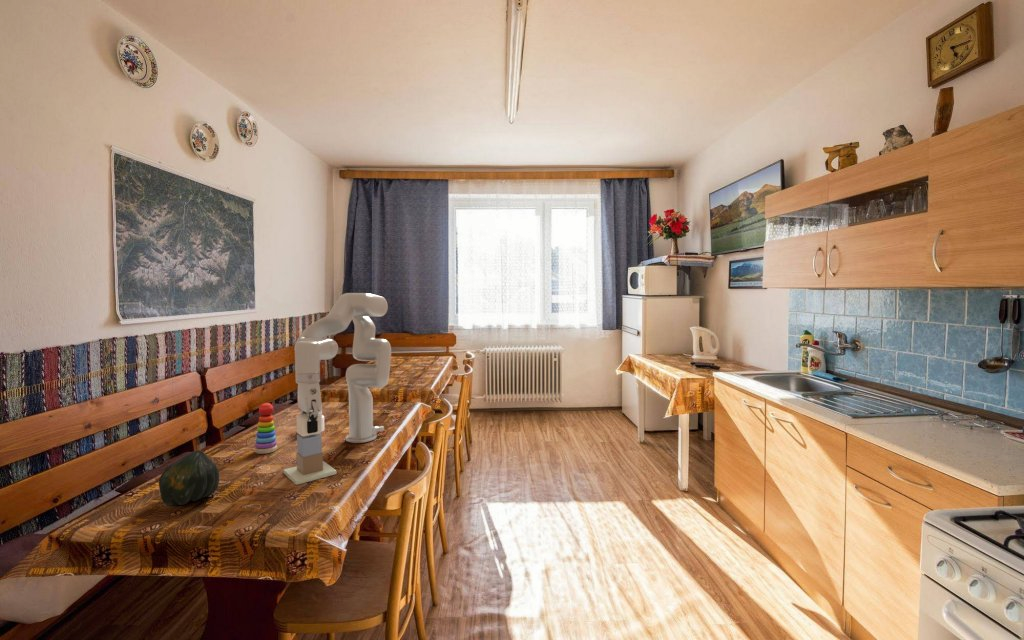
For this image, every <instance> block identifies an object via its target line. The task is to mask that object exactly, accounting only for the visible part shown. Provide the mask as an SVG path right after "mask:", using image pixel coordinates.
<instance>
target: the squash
mask: <svg viewBox="0 0 1024 640" xmlns="http://www.w3.org/2000/svg"><path fill="white" fill-rule="evenodd" d="M207 455H208V454H206V453H205V452H204V451H203V450H201V449H199V450H195V451H194V450H193V451H191V452H189V453H187V454H185V455H184V456H182V457H181V458H179V459H177V460H176V461H174V462H173V463H171V464H170V465H168V466H167V467H165V469H164V470H163V471H162V473H161V475H160V477H159V479H158V490H159V493H160V498H161V500H162V502H163V503H164V504H165V505H167V506H170V507H171V506H177V505H180V506H184V505H187V504H188V503H189V502H190V501H192V502H195V501H198V500H200V499H203V498H206V497H208V496H211V495H213V494H214V493H215V492H216V490H218V487H219V484H220V472H219V469H218V466H217V465H216V464H215V462H213V460H212V459H210V457H209V456H207Z"/></svg>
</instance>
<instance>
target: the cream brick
mask: <svg viewBox="0 0 1024 640" xmlns="http://www.w3.org/2000/svg"><path fill="white" fill-rule="evenodd" d="M311 415H312V414H310V417H311ZM307 421H308V416H307V413H306V414H296V433H297V435H301V436H302V437H304V436H309V435H314V434H322V432H321V415H319V414H318V432H315V433H309V434H308V433H307Z"/></svg>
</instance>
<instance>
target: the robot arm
mask: <svg viewBox="0 0 1024 640" xmlns="http://www.w3.org/2000/svg"><path fill="white" fill-rule="evenodd" d="M388 307H389V305H388V302H387V299H386V298H385V297H384V296H380V295H377V294H373V293H367V292H345V293H343V294H341V295H340V296H339V297H338V299H337V300H336V301H335V303H334V305H332V308H331V309H330V310H329V312H328V313H327V315H326V316H324V317H322V318H320V319H318V320H316V321H315V322H313V323H311V324H309V325H308V326H307V327H305V328H304V329H303V331H302V332H301V334H300V335H299V336H298V338H297V340H296V342H295V344H294V366H295V368H294V369H295V384H297V407H298V409H299V411H300V414H306V413H307V416H308V421H307V433H308V434H309V433H315V432H318V414H319V411H321V410H322V411H323V405H322V394H321V386H320V382H321V362H320V361H323V360H327V361H328V360H331V359H333V358H335V357H336V355H337V354H338V352H339V345H338V343H337V342H336V340H335V339H332V338H327V337H329V336H333V335H336V334H339V333H342V332H344V331H345V330H347V329H348V327H349V326H350V324H351V322H352V323H353V325H354V332H353V342H352V343H353V344H352V357H353V358H354V359H355V360H357V361H361V362H376V363H375V364H374V363H372V364H370V363H356V364H355V363H354V364H351V365H350V366H348V367H347V369H346V371H345V380H346V384H347V390H348V425H349V426H348V430H349V432H348V434H347V435H345V442H348V443H352V444H360V443H368V442H371V441H374V440H375V439H377V438H378V435H377V433H378V432H381V431H384V430H385V427H384V426H383V425H380V426H379V425H375V426H374V414H373V413H374V411H373V410H374V408H373V407H374V405H373V404H374V402H373V401H374V399H373V394H372V392H371V390H370V389H369V388H384V387H385V386H387V385H388V383H389V379H390V372H391V361H392V346H391V343H390V342H389V341H388V340H387V339H384V338H376V325H375V323H374V321H373V320H372V319H371V318H372V317H375V318H376V317H379V318H380V317H384V316H385V315H386V314H387V312H388V310H389V309H388ZM370 317H371V318H370ZM310 410H313V411H312V412H310ZM300 414H299V415H300ZM310 414H312V415H311V417H310Z"/></svg>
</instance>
